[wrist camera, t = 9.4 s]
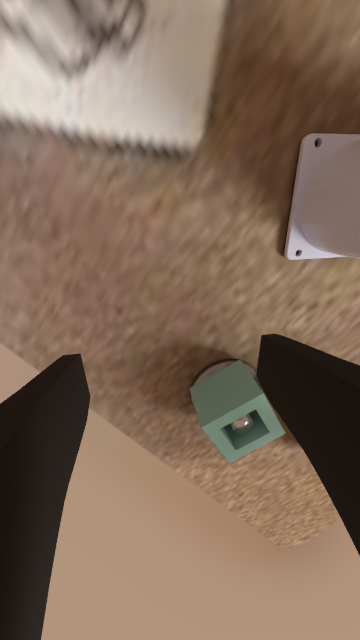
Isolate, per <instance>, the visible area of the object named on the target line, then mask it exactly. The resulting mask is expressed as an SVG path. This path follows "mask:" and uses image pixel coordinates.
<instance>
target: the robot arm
mask: <svg viewBox="0 0 360 640" xmlns="http://www.w3.org/2000/svg"><path fill="white" fill-rule="evenodd" d="M315 140H317V141H318V145H317V147H315ZM297 250H299V253H298V255H296V251H297ZM284 256H285V258H286V259H289V260H298V259H316V258H333V257H352V258H357V259H360V134H316V133H312V134H309V135H307V136H305V137H304V138H303V140H302V142H301V146H300V153H299V160H298V166H297V173H296V179H295V186H294V192H293V199H292V205H291V212H290V218H289V225H288V232H287V238H286V245H285V251H284ZM256 376H257V378H258V380H259V382H260V384H261V387H262V389H263V390H264V392H265V394H266V396H267V398H268V399H269V401H270V402H271V404H272V405H273V407H274V408H275V410H276V411H277V412H278V414H279V415H280V417H281V418H282V420H283V421H284V423H285V424H286V425H287V427H288V428H289V430H290V431H291V433H292V434H293V436H294V437H295V438H296V440H297V441H298V443H299V444H300V446H301V447H302V449H303V450H304V452H305V453H306V455H307V457H308V458H309V460H310V462H311V464H312V465H313V467H314V469H315V471H316V472H317V474H318V476H319V478H320V479H321V481H322V483H323V485H324V487H325V489H326V490H327V492H328V494H329V496H330V498H331V500H332V502H333V504H334V506H335V507H336V509H337V511H338V513H339V515H340V517H341V519H342V521H343V523H344V525H345V527H346V529H347V531H348V533H349V535H350V537H351V539H352V541H353V543H354V545H355V547H356V549H357V551H358V553H359V555H360V366H359V365H357V364H354V363H351V362H348V361H346V360H343V359H340V358H338V357H335V356H332V355H330V354H327V353H325V352H322V351H320V350H317V349H315V348H312V347H310V346H307V345H305V344H303V343H300V342H298V341H295V340H292V339H290V338H287V337H284V336H281V335H278V334H269V335H262V336H261V344H260V351H259V359H258V366H257V374H256ZM89 402H90V393H89V389H88V384H87V380H86V376H85V371H84V367H83V363H82V358H81V354H72V355H63V356H62V357H60V358H59V359H57V360H56V361H55V362H53V363H52V364H51V365H50V366H48V367H47V368H46V369H45V370H43V371H42V372H41V373H40V374H39V375H37V376H36V377H35V378H34V379H32V380H31V381H30V382H29V383H27V384H26V385H25V386H23V387H22V388H21V389H20V390H18V391H17V392H16V393H15V394H13V395H12V396H10V397H9V398H8V399H6V400H5V401H3V402H2V403H1V404H0V640H41V635H42V628H43V622H44V615H45V609H46V603H47V597H48V589H49V584H50V578H51V572H52V566H53V561H54V555H55V549H56V543H57V538H58V532H59V527H60V522H61V517H62V511H63V506H64V501H65V497H66V493H67V488H68V485H69V481H70V478H71V474H72V471H73V467H74V464H75V460H76V457H77V454H78V450H79V446H80V443H81V440H82V436H83V433H84V429H85V425H86V421H87V416H88V409H89Z"/></svg>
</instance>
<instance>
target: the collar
mask: <svg viewBox="0 0 360 640" xmlns="http://www.w3.org/2000/svg"><path fill="white" fill-rule="evenodd" d="M189 389H190V392H191V396H192V399H193V403H194V406H195V409H196V413H197V416H198V420H199V423H200V427H201V429H202V430H203V431H204V432H205V434H206V435H207V436H208V437H209V439H210V440H211V441H212V442H213V444H214V445H215V446H216V447H217V448H218V450H219V451H220V452H221V453H222V455H223V456H224V457H225V458H226V460H227V461H228V462H229V463H232V462H233V461H235V460H237V459H239V458H241V457H243V456H245V455H247V454H248V453H250V452H252V451H254V450H256V449H258V448H260V447H262V446H263V445H265V444H267V443H269V442H271V441H273V440H275V439H277V438H279V437H280V436H282V435H284V434H286V433H285V431H284V429H283V427H282V426H281V424H280V422H279V420H278V418H277V416H276V415H275V413H274V411H273V409H272V407H271V406H270V404H269V402H268V400H267V398H266V396H265V395H264V393H263V391H262V390H261V389H260V387H259V386H258V384H257V383H256V381H255V380H254V379H253V377H252V376H251V374H250V373H249V371H248V370H247V369H246V367H245V366H244V364H243V363H242V361H241V360H239V361H237V362H235V363H233V364H232V365H230V366H228V367H226V368H225V369H223V370H221V371H219V372H217V373H216V374H214V375H212V376H210V377H209V378H207V379H205V380H203V381H202V382H200V383H198V384H196V385H195V386H193V387H191V388H189ZM248 413H249V415H250V417H251V418H252V420H253V426H252V428H251V429H250V430H249V431H247V432H245V433H236V432H234V431H233V429H232V427H231V424H230V423H232V422H234V421H235V420H237V419H239V418H241V417H243V416H245V415H246V414H248Z"/></svg>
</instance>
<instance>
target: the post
mask: <svg viewBox="0 0 360 640" xmlns="http://www.w3.org/2000/svg"><path fill="white" fill-rule="evenodd" d="M237 361H239V360H237V359H226V360H221V361H218V362H215V363H213V364H211V365H209V366H207V367H206V368H204V369H203V370H202V371H201V372H200V373H199V374H198V375H197V377H196V378H195V380H194V381H193V383H192V386H191V387H193V386H195V385H196V384H198V383H200V382H202V381H203V380H205V379H207V378H209V377H210V376H212V375H214V374H216V373H217V372H219V371H221V370H223V369H225V368H226V367H228V366H230V365H232V364H233V363H235V362H237ZM242 363H243V364H244V366H245V367H246V369H247V370H248V371H249V373H250V374H251V376H252V377H253V379H254V380H255V381H256V383H257V384H258V386H259V387H260V389H261V384H260V382H259V380H258V378H257V376H256V374H257V372H256V371H255V369H254V368H253V367H252V366H251V365H250V364H248V363H246V362H244V361H242ZM190 395H191V392H190ZM191 400H192V404H193V406H194V403H193V399H192V396H191ZM194 408H195V406H194ZM195 410H196V409H195ZM230 424H231V427H232V429H233V431H234V432H236V433H245V432H247V431H249V430H250V429H251V428H252V426H253V420H252V418H251V417H250V415H249V413H248V414H246V415H245V416H243V417H241V418H239V419H237V420H235V421H234V422H232V423H230Z"/></svg>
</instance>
